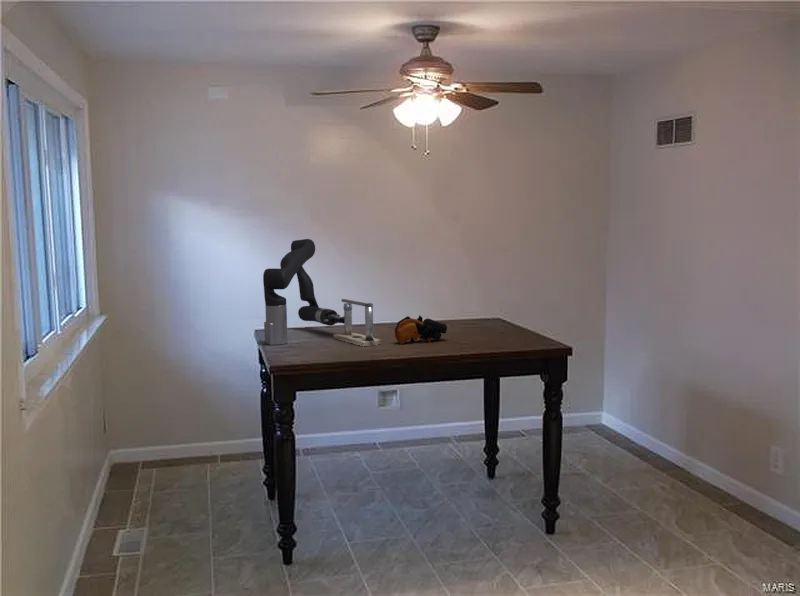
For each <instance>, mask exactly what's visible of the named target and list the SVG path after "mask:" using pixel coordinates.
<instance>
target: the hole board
mask: <svg viewBox="0 0 800 596" xmlns="http://www.w3.org/2000/svg"><path fill="white" fill-rule="evenodd" d="M333 338H335V339H334V340H336V339H338V340H337V341H339V340H342V341H341V342H343V341H346V342H345V343H347V342H349V343H348V344H350V343H353V344H352V345H354V344H356V345H355V346H358V345H360V346H359V347H361V346H363V347H362V348H365V347H364V346H369V347H372V346H371V345H375V346H379V345H378V344H382V345H384V343H383V342H384V340H383V339H380V338H377V337H376V338H375V337H373V341H366V337H365V334H361V333H356V332H353V331H352V334H351V335H345V332H344V333H343V332H342V333H335V334H333Z"/></svg>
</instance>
